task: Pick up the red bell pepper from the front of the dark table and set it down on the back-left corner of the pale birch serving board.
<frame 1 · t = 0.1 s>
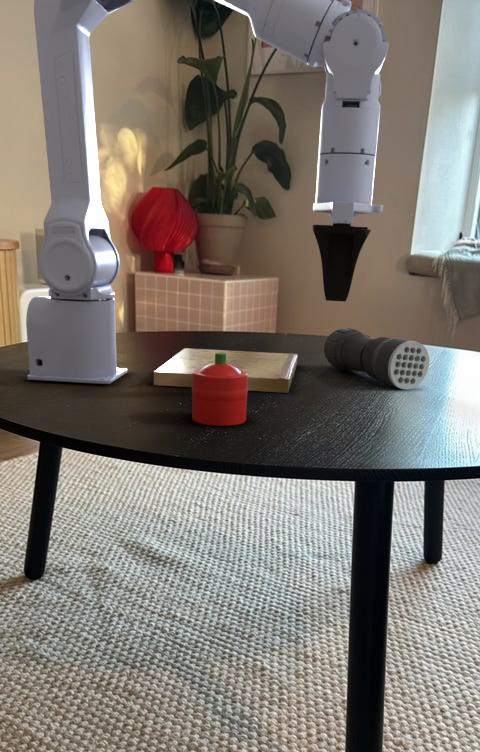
hand: (336, 297, 80), 10 cm above the table, tool pointing down, fingers open, 7 cm apart
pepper: (219, 419, 70), on the table
board: (231, 374, 91), on the table
flashlight: (371, 379, 93), on the table
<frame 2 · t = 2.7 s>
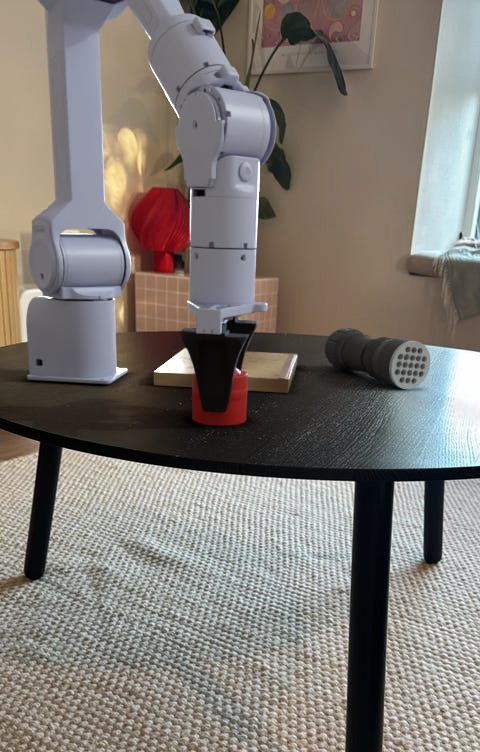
hand: (219, 404, 69), 1 cm above the table, tool pointing down, fingers closed on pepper, 5 cm apart
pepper: (219, 419, 70), on the table, touching gripper
everything else where it was.
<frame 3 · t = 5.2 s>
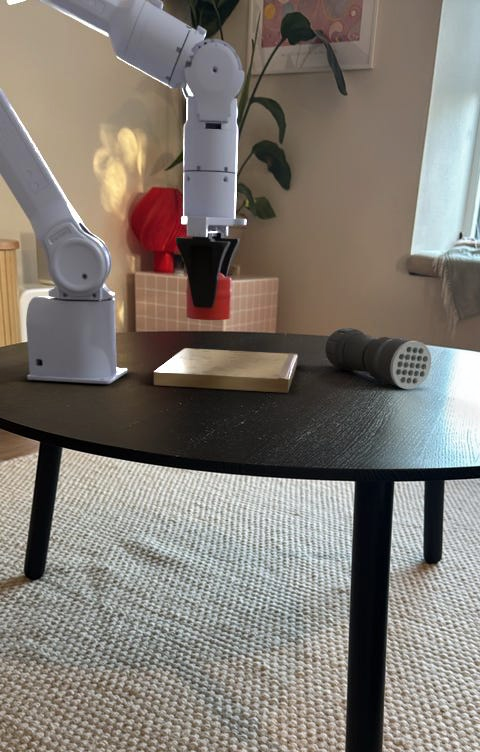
hand: (207, 304, 85), 8 cm above the table, tool pointing down, fingers closed on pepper, 5 cm apart
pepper: (208, 317, 86), point 7 cm above the table, touching gripper
everything else where it was.
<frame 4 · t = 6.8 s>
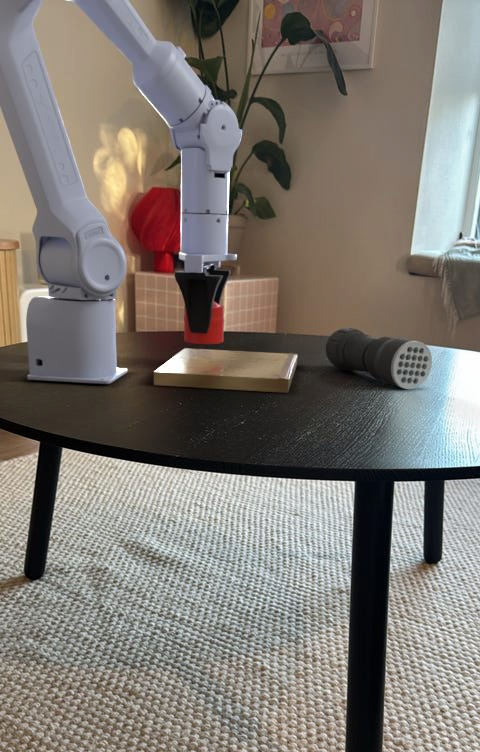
hand: (202, 330, 95), 4 cm above the table, tool pointing down, fingers closed on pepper, 5 cm apart
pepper: (203, 341, 96), point 3 cm above the table, touching gripper
everything else where it was.
when the fingers open (3 cm above the table, at t = 7.8 s): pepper stays where it is, resting on board.
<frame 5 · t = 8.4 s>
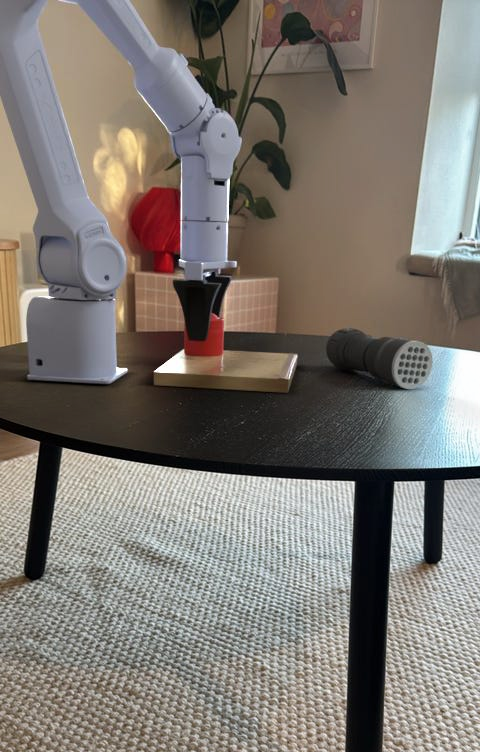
hand: (202, 336, 96), 4 cm above the table, tool pointing down, fingers open, 7 cm apart
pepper: (203, 353, 96), point 1 cm above the table, touching board
everything else where it was.
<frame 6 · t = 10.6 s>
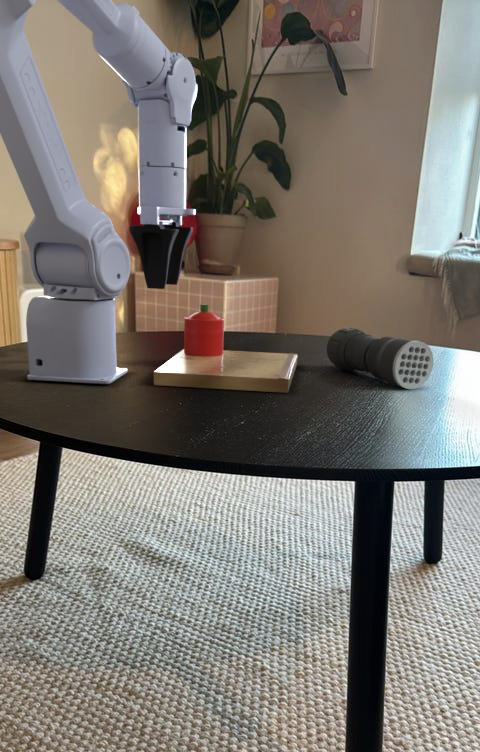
hand: (162, 286, 96), 9 cm above the table, tool pointing down, fingers open, 7 cm apart
nothing on the table moved.
at the end: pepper 0.2 cm from the target spot on the board, point 1.5 cm above the board's base; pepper tilted 0°; the gripper is holding nothing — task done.
